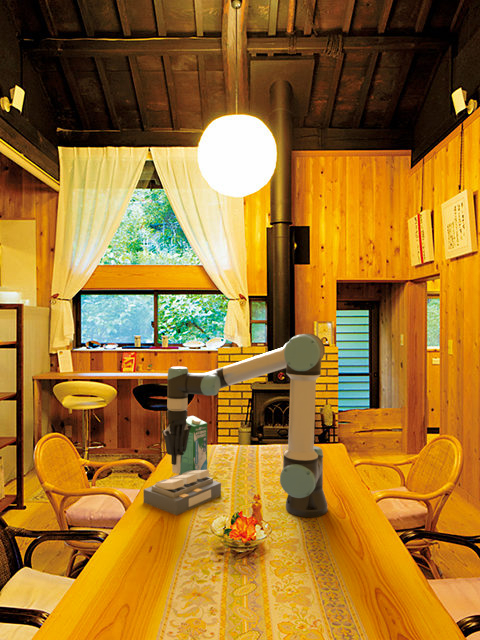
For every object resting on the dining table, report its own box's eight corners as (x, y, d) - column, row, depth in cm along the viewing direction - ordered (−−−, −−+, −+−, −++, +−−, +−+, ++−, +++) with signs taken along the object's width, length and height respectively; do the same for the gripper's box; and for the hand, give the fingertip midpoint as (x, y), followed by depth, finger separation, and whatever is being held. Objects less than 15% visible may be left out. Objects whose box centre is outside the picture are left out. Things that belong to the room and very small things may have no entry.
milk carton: (193, 478, 205) (193, 421, 205) (178, 473, 210) (179, 418, 210) (207, 472, 212) (207, 417, 212) (192, 468, 217) (192, 415, 217)
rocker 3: (209, 475, 185) (208, 469, 186) (200, 479, 181) (199, 472, 182) (191, 476, 191) (190, 470, 192) (183, 479, 187) (182, 473, 188)
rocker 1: (184, 485, 174) (182, 478, 175) (174, 489, 170) (173, 482, 171) (166, 486, 180) (165, 479, 181) (156, 489, 176) (155, 482, 177)
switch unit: (221, 495, 185) (221, 478, 185) (176, 515, 166) (177, 496, 166) (188, 485, 196) (188, 469, 196) (143, 502, 177) (143, 485, 177)
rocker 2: (197, 480, 180) (196, 473, 180) (187, 484, 176) (186, 477, 176) (179, 481, 186) (178, 474, 186) (170, 484, 182) (169, 477, 182)
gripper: (182, 405, 180) (181, 466, 181) (157, 410, 170) (156, 474, 170) (196, 407, 176) (195, 470, 176) (171, 413, 166) (170, 479, 166)
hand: (176, 472), depth 173 cm, fingers closed
